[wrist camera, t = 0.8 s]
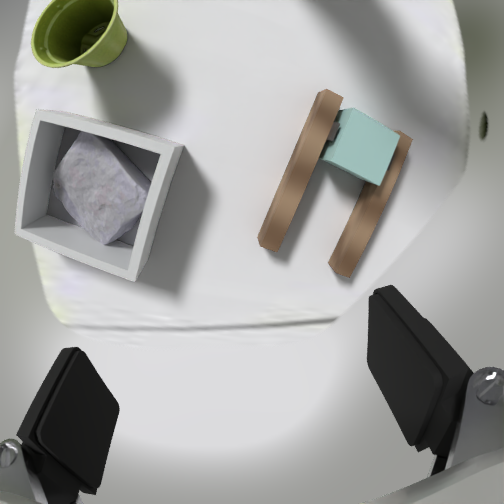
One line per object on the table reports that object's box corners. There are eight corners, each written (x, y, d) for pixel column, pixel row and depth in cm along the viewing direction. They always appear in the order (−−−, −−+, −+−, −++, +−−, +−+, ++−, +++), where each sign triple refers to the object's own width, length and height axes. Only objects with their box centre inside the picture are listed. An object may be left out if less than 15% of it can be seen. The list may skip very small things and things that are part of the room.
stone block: (123, 240, 36) (169, 189, 31) (103, 259, 32) (148, 204, 27) (65, 176, 33) (101, 117, 28) (41, 188, 29) (74, 123, 24)
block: (336, 110, 30) (353, 107, 26) (378, 134, 31) (400, 135, 27) (316, 157, 32) (331, 161, 27) (360, 178, 33) (379, 186, 29)
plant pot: (62, 36, 23) (25, 18, 15) (129, -3, 23) (105, -34, 15) (80, 94, 27) (40, 86, 19) (151, 55, 26) (128, 31, 18)
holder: (63, 111, 27) (36, 109, 21) (184, 145, 30) (174, 146, 25) (39, 219, 31) (14, 234, 26) (148, 259, 35) (135, 282, 29)
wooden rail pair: (318, 92, 29) (329, 87, 25) (399, 138, 32) (417, 139, 28) (257, 237, 35) (261, 249, 31) (341, 267, 37) (352, 281, 33)
